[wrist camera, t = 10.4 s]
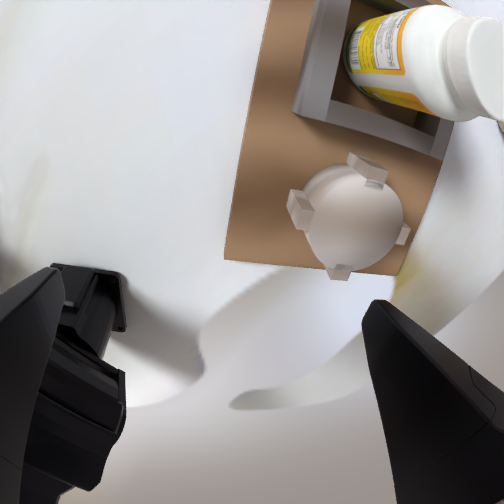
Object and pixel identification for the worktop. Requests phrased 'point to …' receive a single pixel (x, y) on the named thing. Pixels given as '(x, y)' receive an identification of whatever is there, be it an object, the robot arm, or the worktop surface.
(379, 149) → the carrier plate
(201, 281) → the worktop surface
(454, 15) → the supplement bottle
